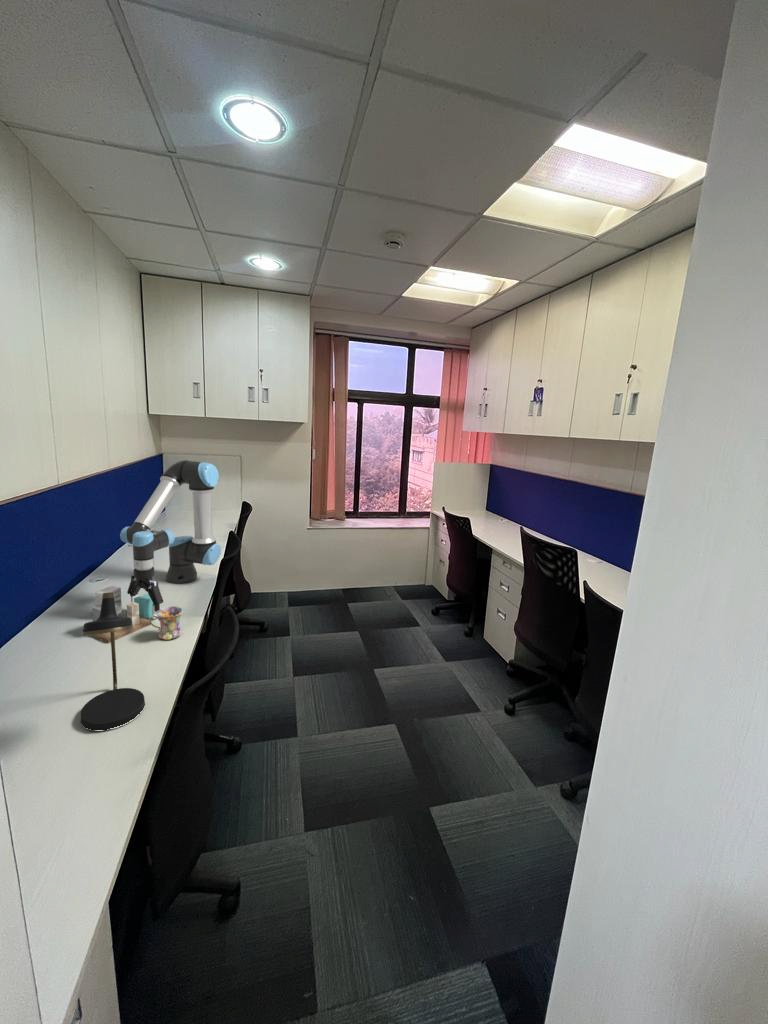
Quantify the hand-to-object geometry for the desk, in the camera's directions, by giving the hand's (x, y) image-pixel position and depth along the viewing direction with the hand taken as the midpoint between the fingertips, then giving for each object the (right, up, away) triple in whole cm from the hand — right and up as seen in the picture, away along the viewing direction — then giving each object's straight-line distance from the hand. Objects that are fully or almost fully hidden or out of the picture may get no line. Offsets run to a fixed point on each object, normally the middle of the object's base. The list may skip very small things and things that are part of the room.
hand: (145, 613), depth 180 cm
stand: (-3, -3, -13) cm, 13 cm away
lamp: (+23, -15, -56) cm, 62 cm away
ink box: (-14, 0, -2) cm, 14 cm away
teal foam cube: (0, -1, 0) cm, 1 cm away
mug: (+17, -6, -15) cm, 23 cm away
